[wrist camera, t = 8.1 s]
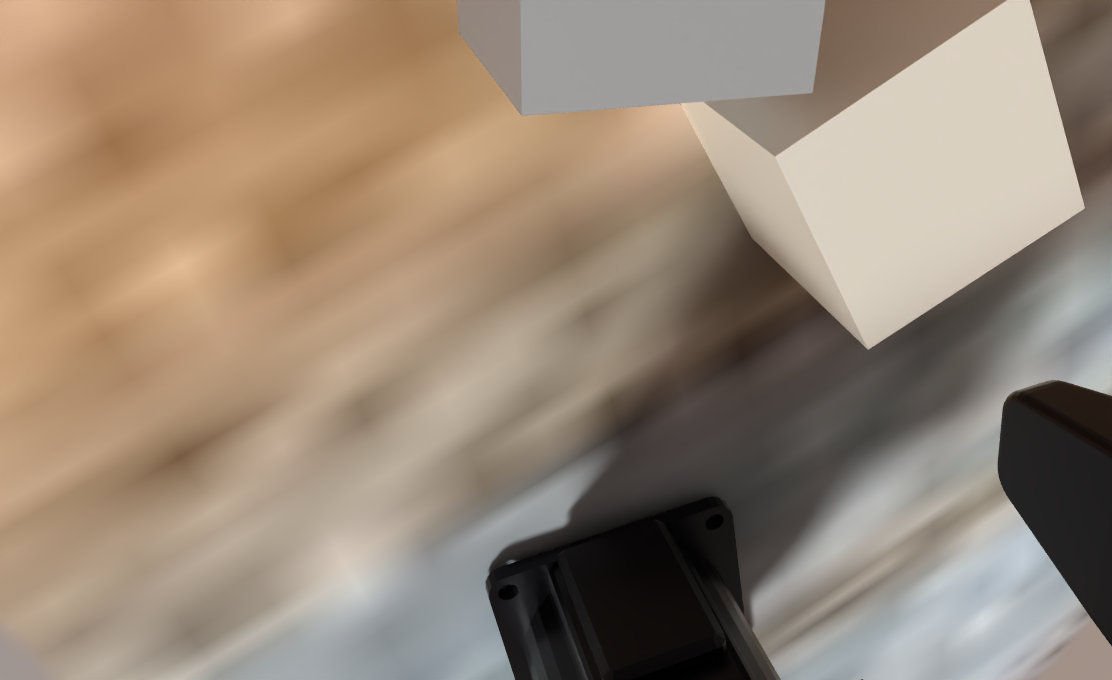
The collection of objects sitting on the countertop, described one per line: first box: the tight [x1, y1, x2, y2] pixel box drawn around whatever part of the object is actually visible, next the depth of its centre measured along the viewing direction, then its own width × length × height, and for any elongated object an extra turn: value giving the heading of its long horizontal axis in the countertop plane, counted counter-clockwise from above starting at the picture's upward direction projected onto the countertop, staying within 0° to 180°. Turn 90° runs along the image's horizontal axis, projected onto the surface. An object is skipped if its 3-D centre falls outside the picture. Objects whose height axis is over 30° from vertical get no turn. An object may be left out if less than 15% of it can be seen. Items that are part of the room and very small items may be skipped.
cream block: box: [680, 0, 1085, 349], centre depth 18 cm, size 4×4×5 cm
